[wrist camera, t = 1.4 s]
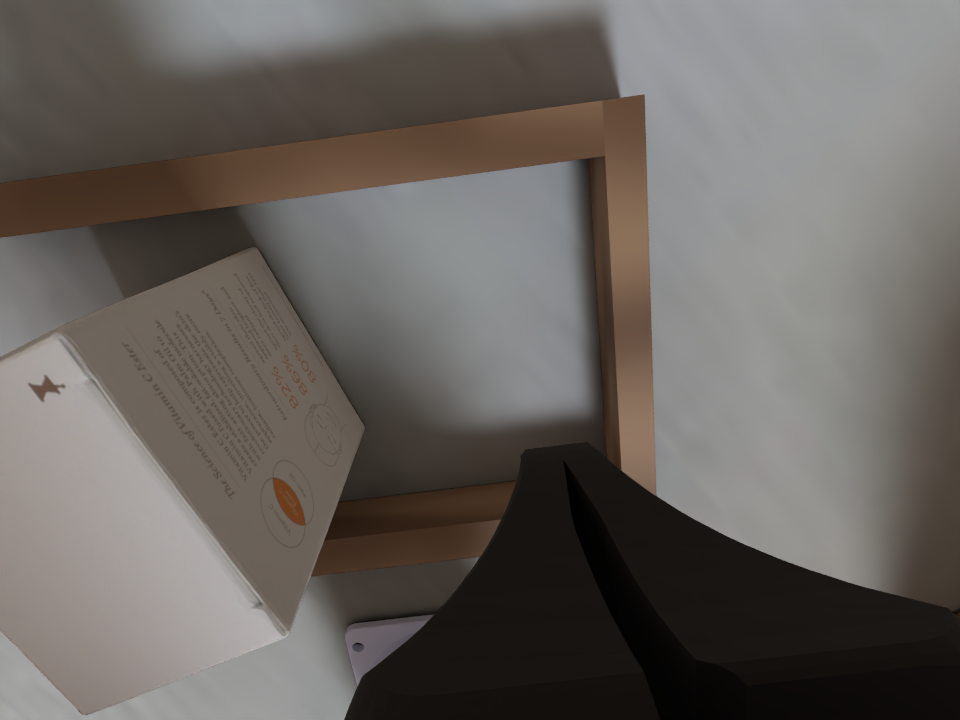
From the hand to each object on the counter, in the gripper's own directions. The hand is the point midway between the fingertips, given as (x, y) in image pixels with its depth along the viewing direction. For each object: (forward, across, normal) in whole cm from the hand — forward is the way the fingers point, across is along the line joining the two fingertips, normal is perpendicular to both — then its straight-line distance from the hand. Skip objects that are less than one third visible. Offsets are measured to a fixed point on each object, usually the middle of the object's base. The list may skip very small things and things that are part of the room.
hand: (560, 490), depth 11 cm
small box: (+11, +10, 0) cm, 15 cm away
